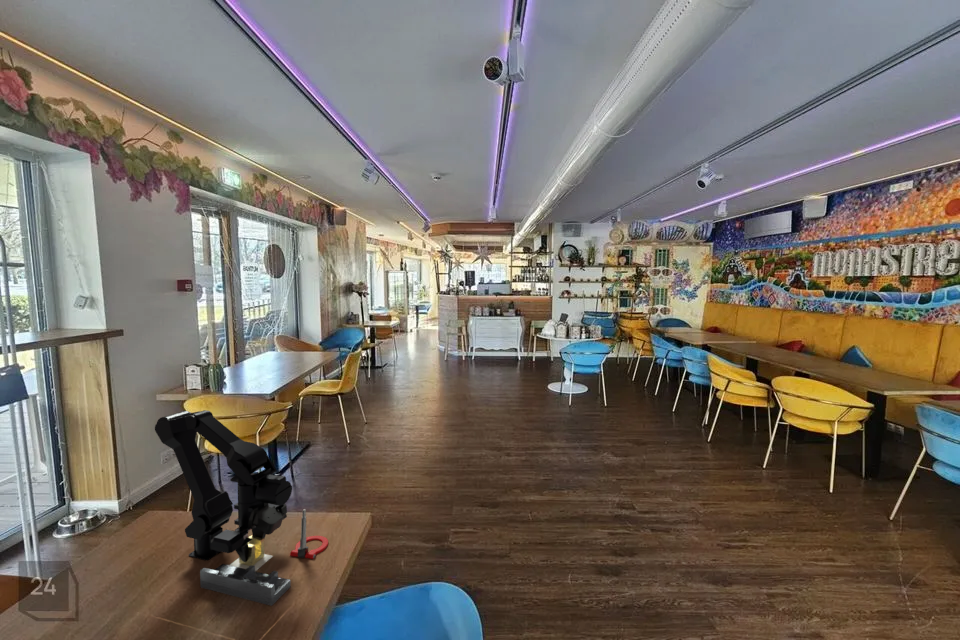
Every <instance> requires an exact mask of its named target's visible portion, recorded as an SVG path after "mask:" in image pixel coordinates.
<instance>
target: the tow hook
mask: <svg viewBox="0 0 960 640" xmlns="http://www.w3.org/2000/svg"><path fill="white" fill-rule="evenodd" d="M306 511H307V510H306V508H304V509H302V514H301V515H302V516H301V526H300V529H301V530H300V539H299V541H298V542H297V543H296V544H295V549H292V550H291V551H290V553H289V555H290V556H291V557H296V558H302V559H311V560H314V559H315V557H316V556H317V555H318V554H319V553H322V552H323V551H325V550H326V549H327V547H328V546H329V540H328V538H327V537H325V536H323V535H310V536H307V517H306V515H307V513H306ZM312 541H320V542H321V543H322V544H321V545H320V546H319V547H317V548H314V549H311V550H309V546H307V542H312Z"/></svg>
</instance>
